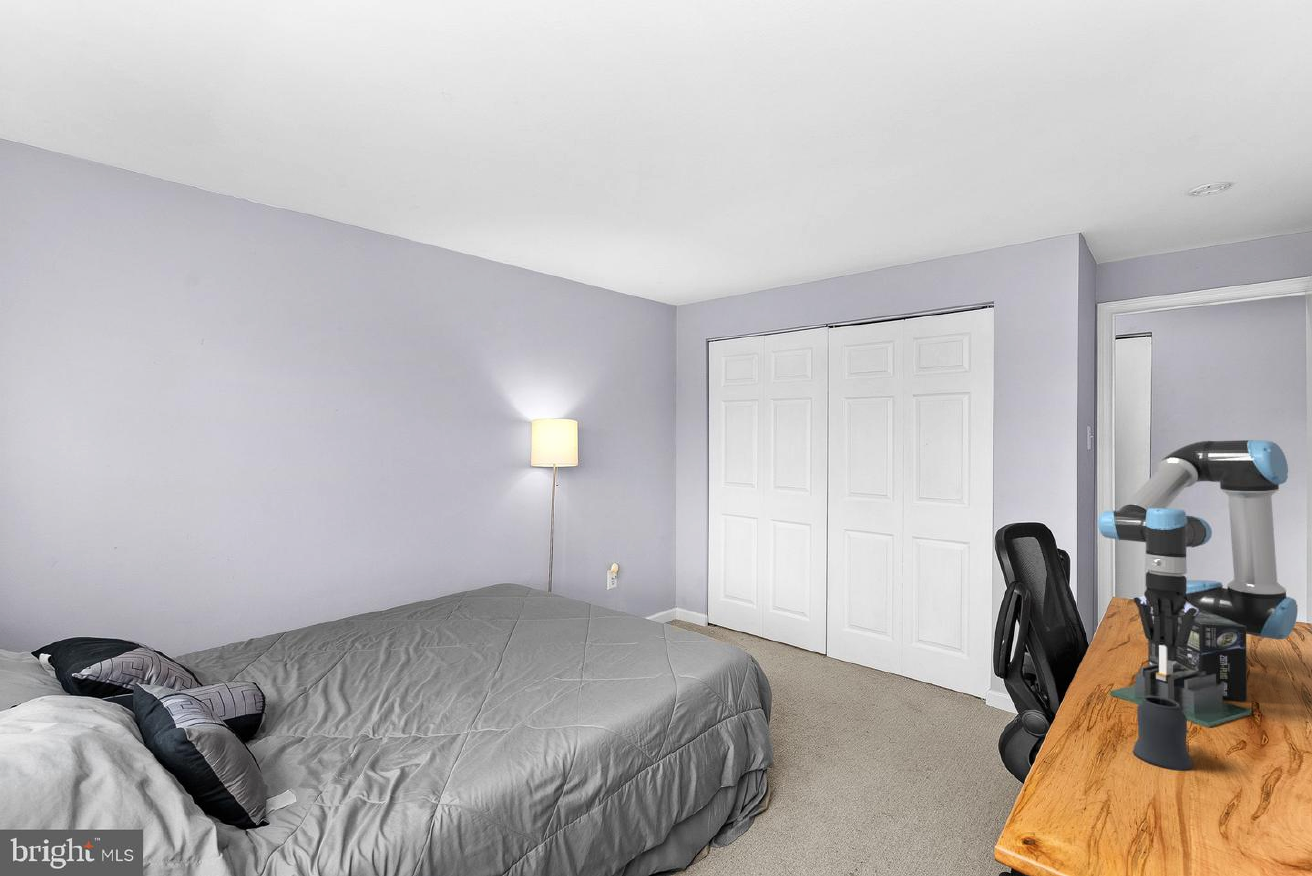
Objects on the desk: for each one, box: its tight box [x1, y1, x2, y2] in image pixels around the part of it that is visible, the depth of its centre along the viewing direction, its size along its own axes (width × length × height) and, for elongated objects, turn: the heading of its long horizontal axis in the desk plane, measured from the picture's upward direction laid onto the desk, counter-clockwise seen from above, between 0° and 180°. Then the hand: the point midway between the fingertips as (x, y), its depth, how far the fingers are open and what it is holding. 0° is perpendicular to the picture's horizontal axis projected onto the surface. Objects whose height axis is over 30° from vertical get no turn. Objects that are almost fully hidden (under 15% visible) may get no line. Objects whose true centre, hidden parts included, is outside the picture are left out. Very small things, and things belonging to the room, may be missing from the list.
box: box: [1147, 603, 1248, 703], centre depth 162 cm, size 23×10×19 cm, turn 168°
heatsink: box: [1109, 664, 1252, 728], centre depth 148 cm, size 18×20×8 cm
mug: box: [1132, 696, 1194, 772], centre depth 122 cm, size 12×9×11 cm
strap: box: [1156, 669, 1198, 681], centre depth 148 cm, size 16×3×2 cm, turn 114°
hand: (1165, 672), depth 146 cm, fingers closed
